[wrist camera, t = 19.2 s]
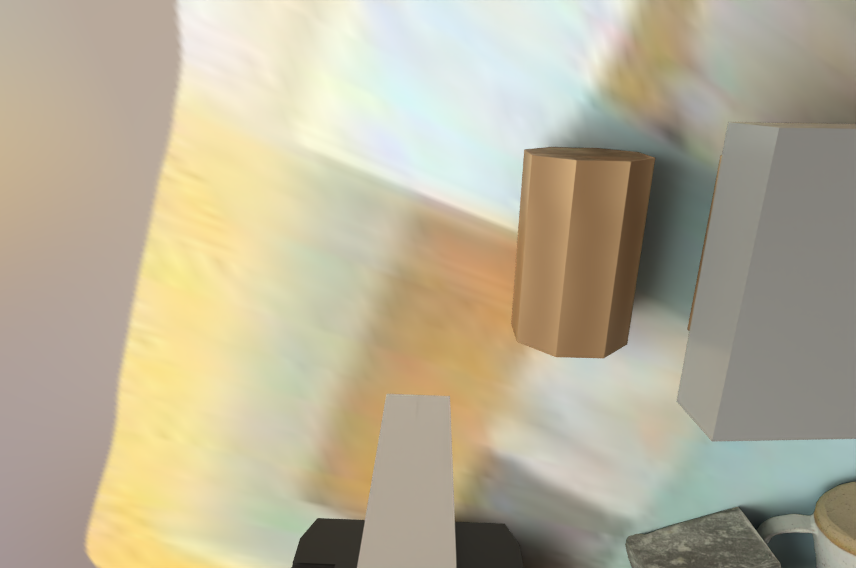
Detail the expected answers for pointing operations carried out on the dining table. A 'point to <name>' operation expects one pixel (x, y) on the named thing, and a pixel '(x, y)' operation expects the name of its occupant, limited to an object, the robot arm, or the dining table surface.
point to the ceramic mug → (824, 527)
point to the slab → (777, 289)
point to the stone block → (703, 544)
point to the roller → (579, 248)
